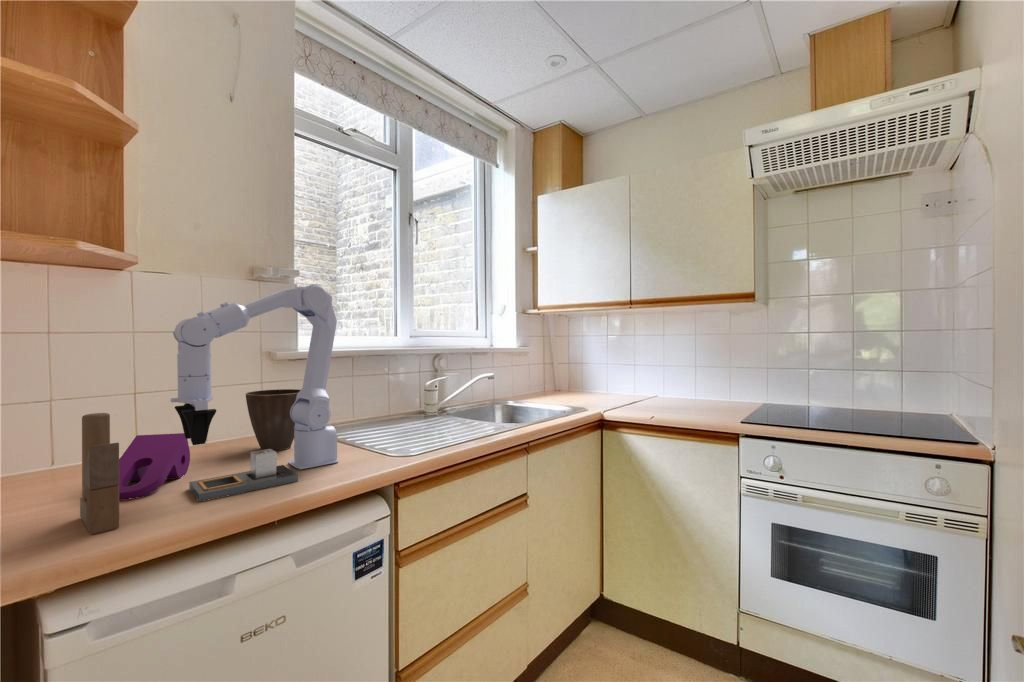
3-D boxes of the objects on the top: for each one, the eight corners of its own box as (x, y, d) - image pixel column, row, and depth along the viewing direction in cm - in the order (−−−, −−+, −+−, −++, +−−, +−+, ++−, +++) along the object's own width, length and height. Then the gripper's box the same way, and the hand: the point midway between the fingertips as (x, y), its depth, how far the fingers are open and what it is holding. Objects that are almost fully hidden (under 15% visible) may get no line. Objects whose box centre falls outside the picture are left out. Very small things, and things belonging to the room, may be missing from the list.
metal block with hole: (270, 477, 101) (270, 448, 101) (276, 481, 98) (276, 451, 98) (250, 481, 98) (250, 451, 98) (255, 486, 95) (255, 455, 95)
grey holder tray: (282, 471, 106) (282, 464, 106) (298, 481, 98) (298, 473, 98) (189, 489, 93) (189, 481, 93) (199, 502, 86) (199, 493, 86)
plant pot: (237, 448, 127) (237, 391, 127) (292, 439, 138) (292, 387, 138) (256, 458, 117) (256, 396, 117) (314, 447, 128) (314, 391, 128)
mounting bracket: (161, 521, 91) (192, 461, 107) (152, 490, 88) (186, 433, 103) (104, 527, 89) (144, 464, 104) (92, 494, 85) (136, 435, 100)
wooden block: (89, 535, 71) (89, 422, 71) (79, 518, 78) (79, 414, 78) (120, 528, 74) (120, 418, 74) (108, 511, 81) (107, 411, 81)
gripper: (165, 374, 96) (166, 438, 96) (176, 379, 86) (177, 450, 86) (205, 372, 101) (205, 433, 101) (219, 377, 91) (220, 444, 91)
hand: (195, 441), depth 94 cm, fingers open, 7 cm apart
